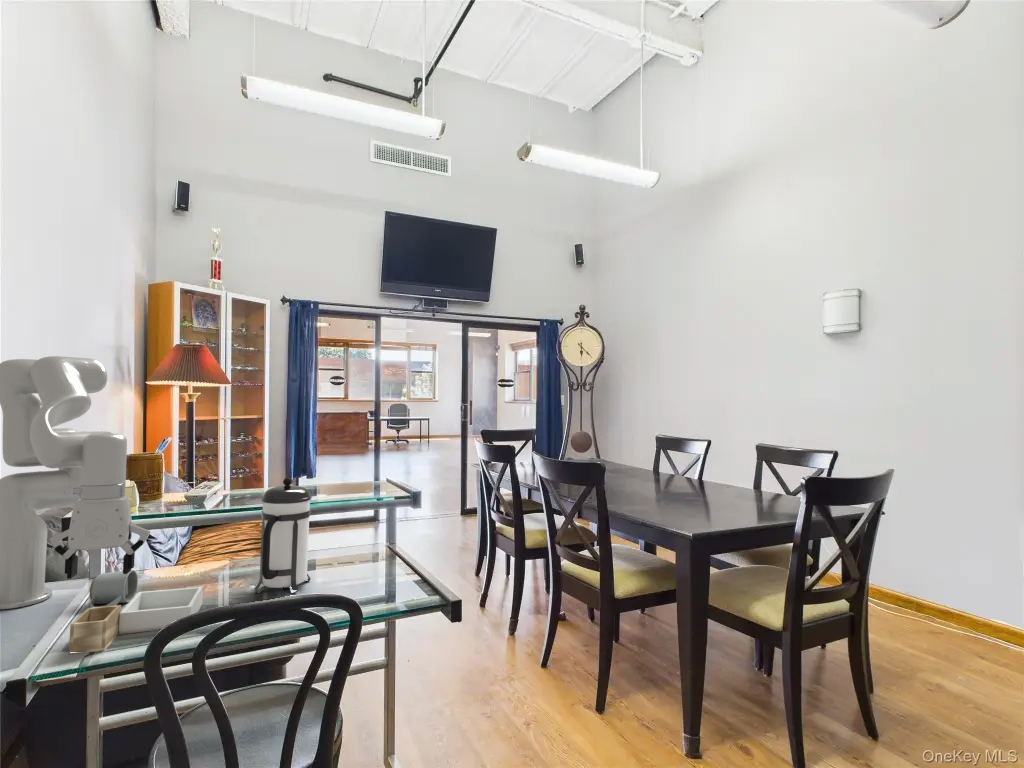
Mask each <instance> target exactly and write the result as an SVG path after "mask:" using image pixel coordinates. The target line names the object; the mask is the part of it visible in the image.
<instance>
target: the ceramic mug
mask: <svg viewBox="0 0 1024 768" xmlns="http://www.w3.org/2000/svg"><path fill="white" fill-rule="evenodd" d="M138 581H139V579H138V573H137V572H136V570H134V569H131V571H130V572H129V573H128V574H123V570H119V571H118V570H117V571H111V572H104V573H100V574H97V575H96V576H95V577H94V578H93V579H92V581H91V583H90V586H89V592H88V593H89V594H88V595H89V598H90V599H89V600H90V601H89V608H93V607H96V606H94V605H95V604H97V605H98V604H99V605H101V604H102V605H103V606H101V607H105V606H116V605H119V604H129V603H130V601H131V600H132V599H133V598H134V597H135V596H136V595H137V591H138V583H139V582H138ZM104 604H105V605H104Z"/></svg>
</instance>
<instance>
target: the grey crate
mask: <svg viewBox="0 0 1024 768" xmlns="http://www.w3.org/2000/svg"><path fill="white" fill-rule="evenodd" d="M203 592H204V587H203V586H197V587H196V586H195V587H184V588H183V587H182V588H173V589H172V588H171V589H170V588H169V589H159V590H148V591H147V590H146V591H139V592H137V593H136V594H135V596H134V598H133V599H132V600H131V601H130V602H128V603H127V604H126V605H125V607H124V608H123V609H121V613H120V620H119V634H118V635H124V634H125V635H127V634H133V633H136V634H137V633H145V632H154V631H160V630H159V629H161V628H162V627H164V626H166V625H168V624H170V623H171V622H173V621H175V620H177V619H180V618H183V617H186V616H188V615H191V614H194V613H196V612H198V613H199V611H200V609H201V608H202V606H203V595H204V593H203Z"/></svg>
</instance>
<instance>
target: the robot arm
mask: <svg viewBox="0 0 1024 768" xmlns="http://www.w3.org/2000/svg"><path fill="white" fill-rule="evenodd" d="M107 382H108V372H107V370H106V366H105V365H104V364H103V363H102V362H100V361H99V360H97V359H95V358H87V357H74V356H73V357H72V356H59V355H56V356H54V355H51V356H44V357H41V358H38V359H32V358H31V359H29V358H17V359H15V358H14V359H8V360H4V361H2V362H0V407H1V411H2V412H1V413H2V447H1V448H2V458H3V462H4V463H5V464H6V465H7V466H8V467H14V468H30V467H32V468H33V467H45V468H48V469H54V470H43V471H41V470H39V471H28V472H27V471H26V472H17V473H12V474H8V475H6V476H4V477H2V478H0V610H10V609H16V608H22V607H26V606H31V605H35V604H37V603H41V602H43V601H46V600H48V599H49V598H51V596H53V590H52V588H49V587H46V585H45V581H46V566H47V565H46V564H47V563H46V562H47V547H48V543H47V542H48V525H47V523H46V522H45V519H43V518H42V517H40V516H39V514H37V511H40V510H44V509H53V508H59V507H68V506H72V505H73V507H72V508H73V509H72V512H71V517H70V523H69V528H68V529H67V530H64V531H62V532H60V533H58V534H56V535H54V536H51V537H50V538H49V542H50V543H51V545H52V546H53V548H54V551H55V552H56V553H57V554H59V555H60V556H61V558H62V559H63V560H64V574H65V575H66V579H68V580H70V579H72V578H73V577H75V576H77V575H78V562H79V556H78V555H77V554H76V553H77V552H79V551H86V550H100V549H101V550H102V549H117V548H121V549H122V550H123V552H125V554H124V555H123V557H122V558H123V559H122V560H123V562H122V563H123V564H122V571H123V574H128V573H129V572H130V571H131V570H133V569H134V567H135V554H136V553H135V552H136V551H137V550H139V548H141V547H142V546H143V545H144V544H145V543H146V540H148V538H149V536H150V534H151V530H148V529H146V528H144V527H141V526H140V525H136V524H134V523H133V521H132V520H133V519H132V509H131V504H130V498H129V496H126V482H127V481H126V479H127V478H126V476H127V458H128V457H127V456H128V455H127V451H128V439H127V437H126V436H125V435H124V434H122V433H114V432H111V431H110V432H109V431H103V430H102V431H78V430H75V429H73V428H68V427H67V428H65V427H64V428H55V427H58V426H59V425H62V424H63V425H64V424H65V423H67V422H71V421H73V420H75V419H79V418H81V417H82V416H84V415H85V414H86V413H87V412H88V411H89V410H90V408H91V406H92V399H91V396H90V395H89V394H94V393H99V392H101V391H103V389H104V388H106V386H107ZM35 394H38V397H37V396H36V395H35ZM55 469H56V470H55ZM57 469H58V470H57ZM133 534H137V535H138V536H139V538H138V540H137V541H136V542H135V543H133V542H132V535H133ZM65 538H67V544H68V545H66V544H64V542H63V539H65Z"/></svg>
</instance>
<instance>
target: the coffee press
mask: <svg viewBox="0 0 1024 768" xmlns="http://www.w3.org/2000/svg"><path fill="white" fill-rule="evenodd" d="M292 482H293V481H292V479H291V478H290V477H285V478H284V479H283V481H282V483H283V485H281V486H280V485H279V486H274V487H270V488H269V489H267V490H266V491H265V492H264V494H263V496H262V497H261V502H262V510H261V517H260V518H261V519H262V520H261V539H260V561H259V563H260V565H259V580H258V583H257V585H256V586H255V587H254V592H256V593H257V594H261V593H262V592H263V591H264V590H265V589H266V588H273V589H283V587H284V588H288V587H290V586H291V587H292V589H293V590H297V591H298V585H299V584H302V583H304V582H305V583H309V582H311V579H312V578H311V577H310V575H309V573H308V562H309V561H308V557H309V556H308V554H309V535H310V534H309V532H310V531H309V530H310V516H311V508H310V505H311V500H312V496H313V495H311V493H310V491H309V490H308V489H307V488H306V487H303V486H299V485H291V484H292ZM306 580H308V582H306ZM261 585H262V587H261V588H260V586H261ZM259 588H260V589H259Z"/></svg>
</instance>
